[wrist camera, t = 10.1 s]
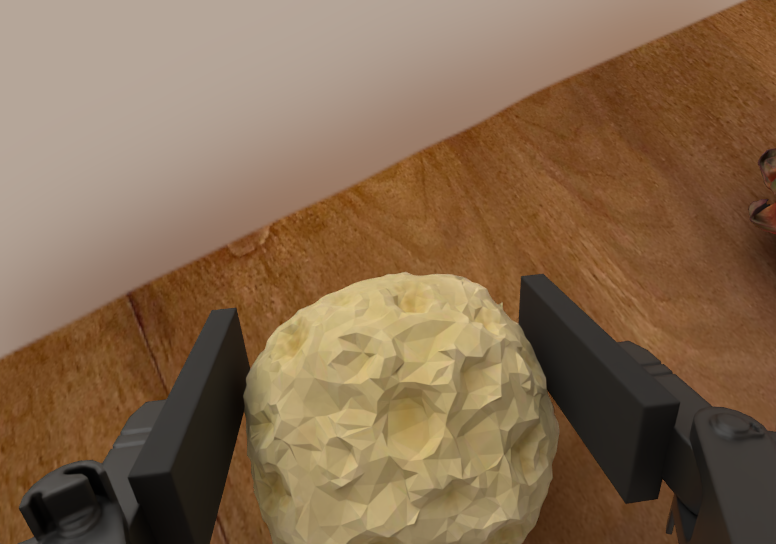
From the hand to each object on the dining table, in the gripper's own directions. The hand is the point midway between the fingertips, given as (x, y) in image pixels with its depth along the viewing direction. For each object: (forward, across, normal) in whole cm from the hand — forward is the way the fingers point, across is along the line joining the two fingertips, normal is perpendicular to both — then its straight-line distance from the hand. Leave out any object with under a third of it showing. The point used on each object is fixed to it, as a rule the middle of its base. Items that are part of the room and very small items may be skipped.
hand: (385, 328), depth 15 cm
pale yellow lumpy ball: (+1, 0, -5) cm, 5 cm away
